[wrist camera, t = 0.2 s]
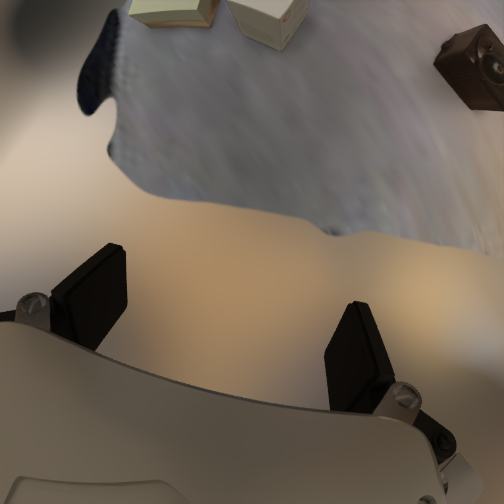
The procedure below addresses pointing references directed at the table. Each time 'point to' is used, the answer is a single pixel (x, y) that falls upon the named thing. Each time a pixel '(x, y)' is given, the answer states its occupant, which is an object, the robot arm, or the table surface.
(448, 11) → the table surface
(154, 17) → the tower top block
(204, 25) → the tower base block
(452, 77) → the manual coffee grinder
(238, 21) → the small box
